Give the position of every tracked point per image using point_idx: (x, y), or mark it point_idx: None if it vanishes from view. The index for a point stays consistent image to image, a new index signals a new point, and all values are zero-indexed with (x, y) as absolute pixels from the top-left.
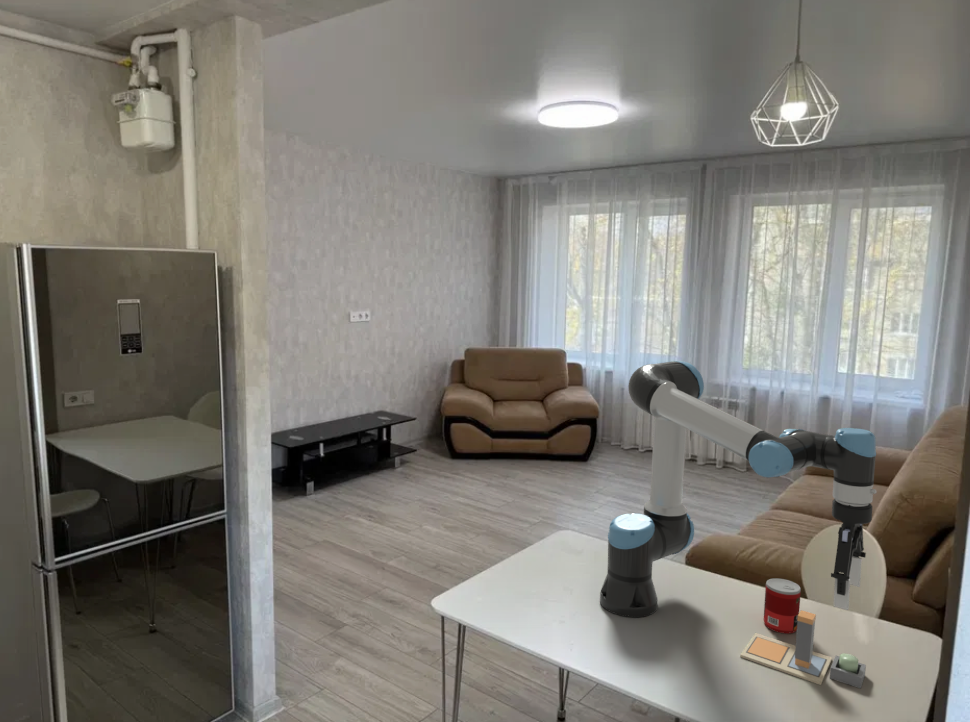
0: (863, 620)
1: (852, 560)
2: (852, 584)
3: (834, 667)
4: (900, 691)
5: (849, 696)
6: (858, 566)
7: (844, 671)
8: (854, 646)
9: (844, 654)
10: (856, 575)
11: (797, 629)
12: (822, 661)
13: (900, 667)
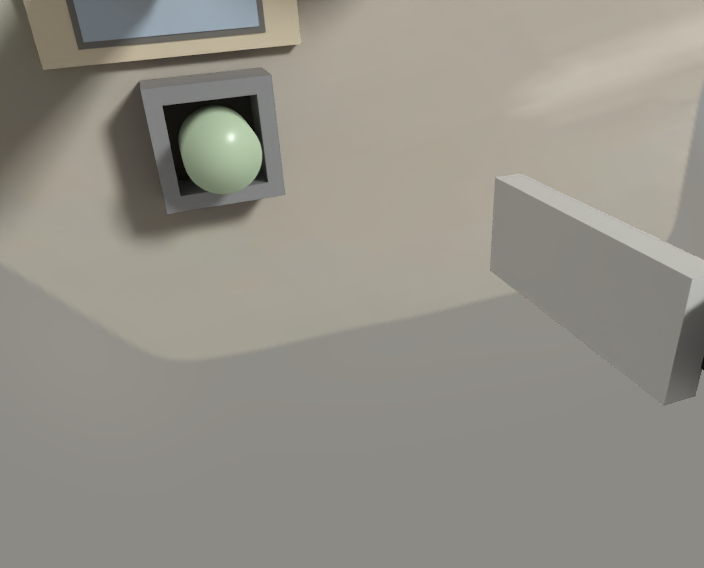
0: (683, 54)
1: (651, 310)
2: (496, 225)
3: (154, 104)
4: (260, 294)
5: (67, 185)
6: (602, 339)
7: (158, 147)
8: (468, 85)
9: (240, 131)
10: (543, 284)
11: None
12: (229, 20)
13: (417, 248)
